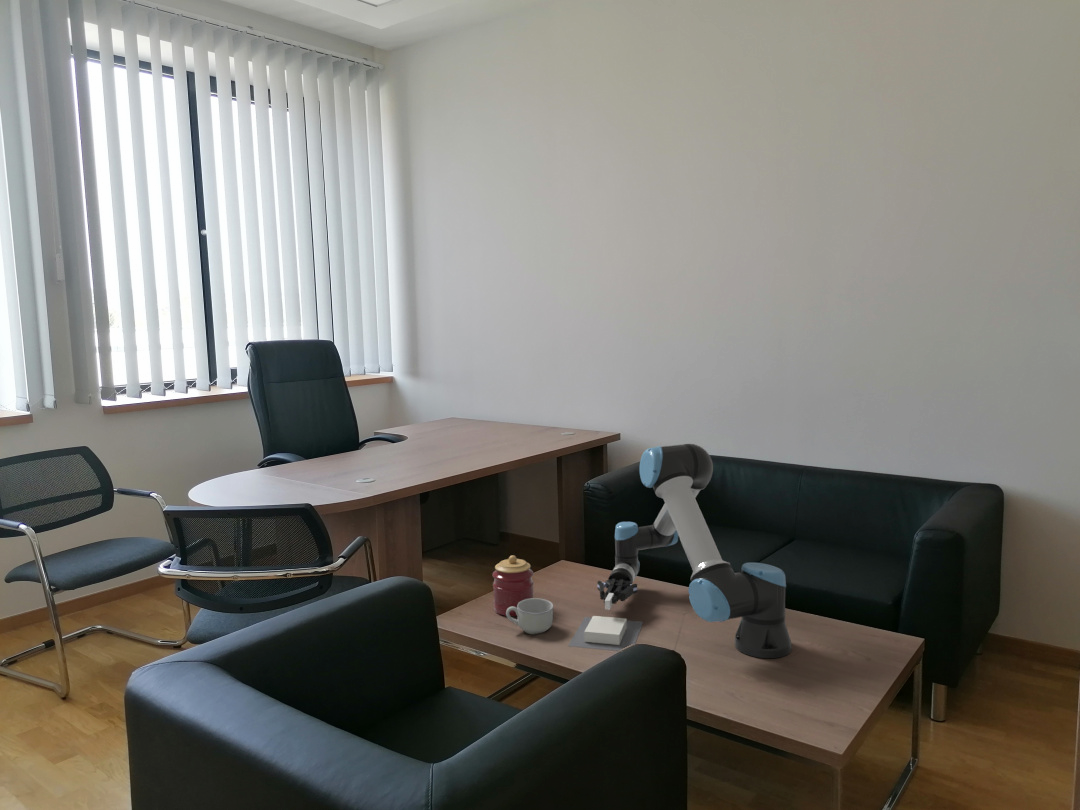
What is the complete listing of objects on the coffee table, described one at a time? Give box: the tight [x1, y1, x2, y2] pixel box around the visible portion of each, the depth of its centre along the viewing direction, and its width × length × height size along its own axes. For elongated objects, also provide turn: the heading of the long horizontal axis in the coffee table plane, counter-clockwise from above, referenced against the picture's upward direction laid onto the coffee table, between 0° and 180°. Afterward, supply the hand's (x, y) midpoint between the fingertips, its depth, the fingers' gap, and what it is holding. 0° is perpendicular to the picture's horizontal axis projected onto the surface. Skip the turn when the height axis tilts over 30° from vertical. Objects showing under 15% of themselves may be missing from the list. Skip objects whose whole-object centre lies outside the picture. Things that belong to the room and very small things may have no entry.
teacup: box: [505, 597, 554, 635], centre depth 234 cm, size 14×11×8 cm
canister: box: [492, 555, 534, 617], centre depth 251 cm, size 13×13×18 cm
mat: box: [567, 616, 644, 652], centre depth 230 cm, size 22×18×1 cm
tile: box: [584, 615, 627, 645], centre depth 228 cm, size 3×10×12 cm
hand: (607, 605), depth 232 cm, fingers closed
